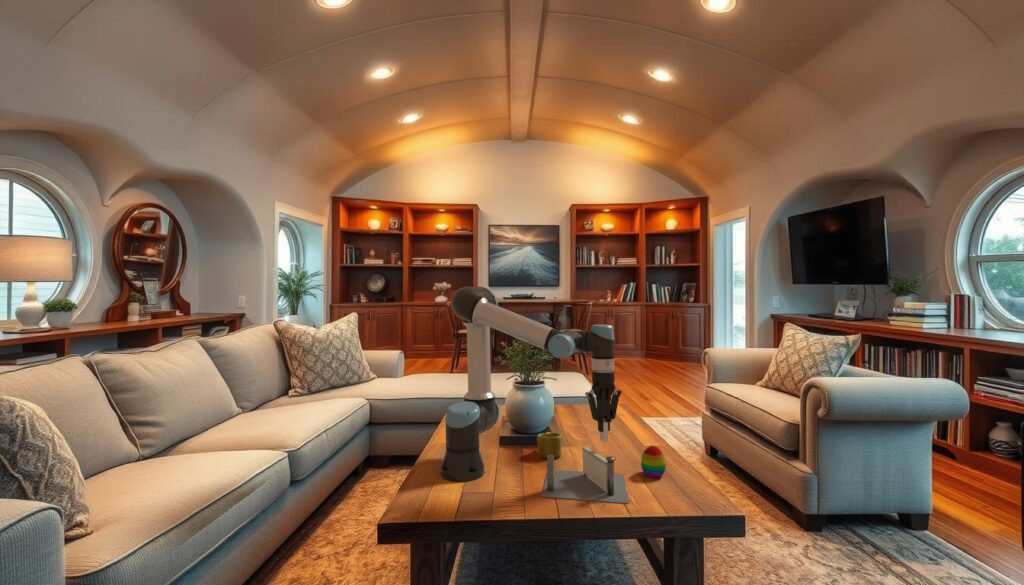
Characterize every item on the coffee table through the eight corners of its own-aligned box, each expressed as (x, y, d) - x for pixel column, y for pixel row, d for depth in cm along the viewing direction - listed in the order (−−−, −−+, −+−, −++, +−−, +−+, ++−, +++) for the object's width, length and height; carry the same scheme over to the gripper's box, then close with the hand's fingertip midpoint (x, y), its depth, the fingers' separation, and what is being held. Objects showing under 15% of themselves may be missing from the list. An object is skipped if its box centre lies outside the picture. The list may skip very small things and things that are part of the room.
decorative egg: (668, 473, 161) (668, 444, 161) (662, 481, 154) (662, 451, 154) (644, 468, 165) (644, 440, 165) (638, 476, 158) (638, 447, 158)
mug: (564, 457, 171) (557, 429, 174) (538, 463, 173) (531, 436, 176) (569, 452, 183) (562, 427, 185) (544, 458, 185) (537, 433, 187)
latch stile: (546, 492, 146) (547, 457, 145) (547, 488, 148) (547, 454, 148) (555, 493, 145) (555, 457, 145) (555, 489, 148) (556, 454, 148)
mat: (541, 497, 142) (541, 496, 142) (548, 469, 164) (548, 469, 164) (628, 503, 138) (628, 502, 138) (623, 475, 159) (623, 474, 159)
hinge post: (606, 496, 142) (606, 459, 142) (605, 493, 145) (605, 456, 145) (615, 497, 142) (615, 459, 142) (615, 493, 145) (615, 456, 145)
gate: (610, 491, 145) (610, 461, 145) (605, 492, 145) (605, 462, 145) (586, 473, 159) (586, 446, 159) (582, 474, 159) (582, 447, 159)
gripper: (591, 373, 150) (592, 446, 150) (626, 371, 155) (627, 441, 155) (580, 370, 157) (581, 439, 157) (613, 367, 162) (614, 435, 162)
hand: (604, 440), depth 156 cm, fingers closed
